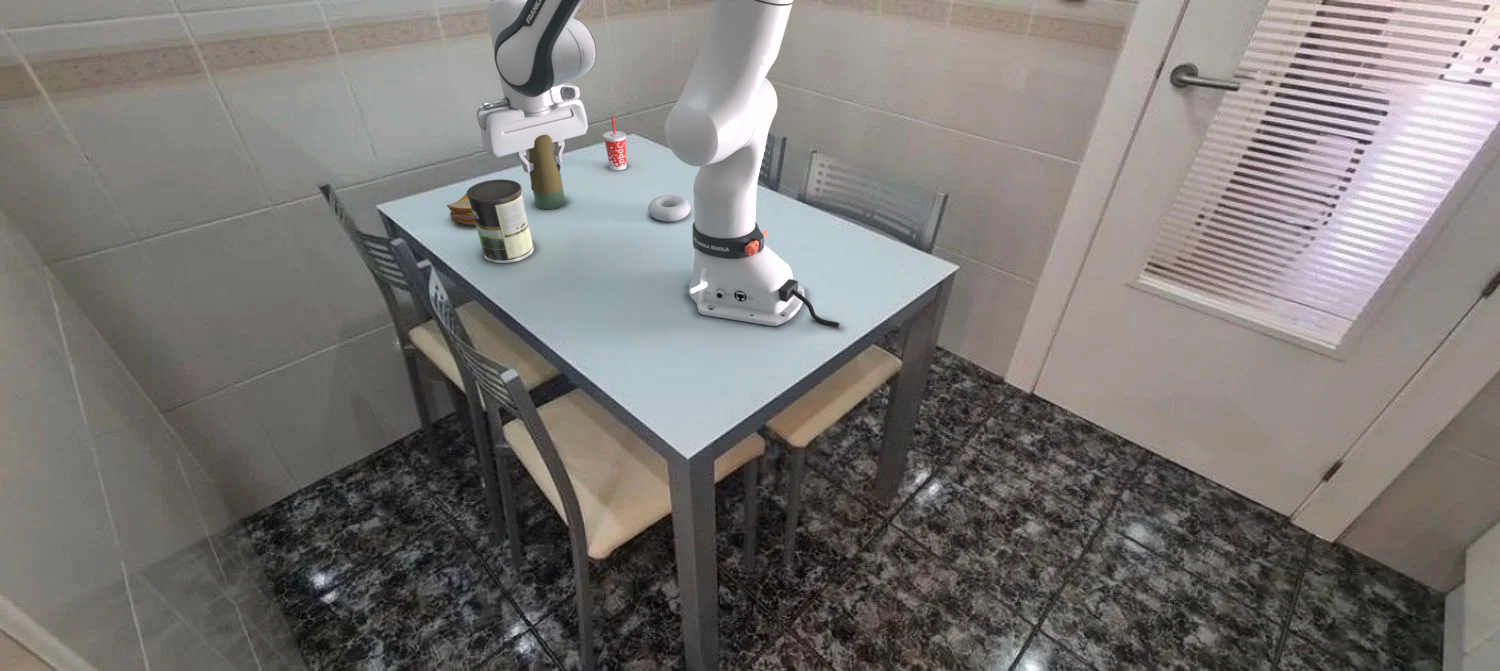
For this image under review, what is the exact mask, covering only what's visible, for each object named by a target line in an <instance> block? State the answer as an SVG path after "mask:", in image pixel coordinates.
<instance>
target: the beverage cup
mask: <svg viewBox="0 0 1500 671" xmlns="http://www.w3.org/2000/svg"><path fill="white" fill-rule="evenodd" d="M611 123H612V130H611V131H605V133H603V134H602V137H603V140H604V145H605V149H606V155H607V161H608V165H609V169H610V170H612V171H623V170H625V169H627V144H626V139H627V133H626V132H624V131H622V130H621V131H620V130H616V128H615V118H614V115H611Z"/></svg>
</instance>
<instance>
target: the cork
mask: <svg viewBox="0 0 1500 671" xmlns="http://www.w3.org/2000/svg"><path fill="white" fill-rule="evenodd" d="M552 148H553V142H552V139H551V137H550V136H548V135H541V136H539V137H537V138H536V139H535V142H534V148H531V149H527V150H528V156H529V157H528V158H529V159H528V160H529V161H531V162H533V163H534V168H535V170H534V171H532V172H530V174H531V179H530V188H531V191H532V192H533V191H534V192H536V193H552V192H556V191H559V190H560V189H562V187H563V188H564V185H563V180H562V181H561V179H562V177H561V178H560V175H559V172H558V169H557V165H556V162H555V159H554V156H553V150H552ZM530 174H529V175H530Z"/></svg>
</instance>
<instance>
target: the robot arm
mask: <svg viewBox="0 0 1500 671" xmlns="http://www.w3.org/2000/svg"><path fill="white" fill-rule="evenodd" d="M585 1H586V0H489V1H488V7H487V18H488V19H487V20H488V28H489V34H490V39H491V43H492V47H493V53H494V63H495V67H496V69H497V73H498V75H499V79H500V84H501V89H502V93H503V98H500V99H499V98H498V99H496V100H492V101H485V102H483V103H481V105H480V107H478V109H477V111H476V118H477V122H478V125H479V128H480V135H481V141H482V146H483V149H484V151H485V153H487V154H489V155H490V156H492V157H495V158H501V157H505V156H509V155H512V154H513V155H514V156H515V157H516V159H518V161H519V162H521V165H522V169H523V171H524V172H525V173H526V174H528V173H529V172H532V171H534V170H535V168H534V163H533V162H531V161H530V159H528V160H527V158H526V157H525V156H527V150H528V149H531V148H534V142H535V139H536V138H537V137H539V136H541V135H548V136H550V137H551V139H552V142H553V144H554V149H553V151H552V153H553V156H554V159H555V162H556V164H562V163H563V157H562V155H563V152H564V149H565V146H566V143H565V140H568V139H572V138H576V137H580V136H584V135H586V134H587V131H588V128H589V125H588V119H587V118H588V117H587V113H586V109H585V106H584V103H583V102H582V100H581V99H580V96H581V91H580V88H579V87H578V86H577V85H575V84H573V83H571V81H573V80H576V79H578V78H580V77H583V76H584V75H586V74H587V73H590V71H591V70H592V69H593V68H594V67H595V64H596V60H597V44H596V42H595V38H594V37H593V34H592V32H591V31H590V29H589V28H588V26H587V25H585V23H584V22H583V21H581V20H580V19H578V18H576V17H575V15H576V14H577V12H578V11H579V9H580V7H581V6H582V5H583V4H584V3H585ZM793 3H794V0H713V1H712V6H711V10H710V14H709V20H708V24H707V25H708V26H707V29H706V31H705V36H704V39H703V41H702V43H701V47H700V49H699V52H698V54H697V57H696V59H695V61H694V64H693V66H692V69H691V71H690V73H689V76H688V78H687V80H686V83H685V85H684V88H683V90H682V91H681V94H680V96H679V98H678V99H677V101H676V103H675V104H674V106H673V107H672V108H671V110H670V111H669V113H667V116H666V118H665V123H664V136H665V139H666V142H667V144H668V147H669V149H670V151H671V152H672V154H673V155H674V156H675V157H676V158H677V159H678V160H680V161H681V162H682V163H683V164H686V165H688V166H691V167H699V169H698V172H697V174H696V176H695V178H694V182H693V186H692V189H693V190H692V191H693V214H694V215H693V216H694V217H693V218H694V221H693V223H692V246H693V249H694V260H693V269H692V274H691V275H692V276H691V279H690V284H689V286H688V295H689V297H690V299H691V300H693V302H694V303H695V304H696V306H697V312H698V313H699V314H700V315H703V316H708V317H714V318H721V319H726V320H732V321H738V322H746V323H751V324H758V325H764V326H770V327H771V326H772V327H777V326H779V325H780V326H781V325H783V324H785V323H787V322H788V321H789V320H791V319H792V318H794V316H796V314H797V313H798V312H799V311H800V309H801V308H802V306H803V305H805V306H806V307H807V309H808V311H809V315H810V316H811V318H812V319H813V320H814V321H816V322H817V323H818V324H821V325H824V326H829V327H835V328H839V327H840V324H841V323H840V322H837V321H832V320H828V319H824V318H822V317H820V316H818V315H817V314H816V312H815V309H814V306H813V305H812V303H811V301H809V299H808V298H806V297H805V289H804V287H803V286H802V285H799V281H798V280H795V279H794V276H793V270H792V269H791V266H790V265H789V264H788V263H787V262H785V261H784V259H783V258H781V257H780V256H779V255H778V254H776V253H775V252H774V251H773V250H772V249H771V248H770V247H769V246H767V244H766V243H765V239H766V237H768V235H769V233H768V231H769V228H766V229H765V230H764V231H763V232H762V231H761V229H760V228H759V225H758V222H757V221H756V218H757V217H756V216H757V192H758V183H759V176H760V170H761V167H762V162H763V158H764V154H765V149H766V144H767V140H768V134H769V131H770V127H771V125H772V122H773V120H774V118H775V115H776V113H777V111H778V110H777V109H778V96H777V93H776V92H777V91H776V90H775V88H774V85H773V84H772V83H771V81H770V80H769V79H768V78H767V75H768V73H769V71H770V70H771V67H772V66H773V65H774V63H775V61H776V60H777V58H778V55H779V52H780V49H781V46H782V42H783V38H784V35H785V31H786V28H787V25H788V21H789V18H790V14H791V10H792V7H793ZM553 144H552V145H553Z"/></svg>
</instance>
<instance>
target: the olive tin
mask: <svg viewBox="0 0 1500 671" xmlns="http://www.w3.org/2000/svg"><path fill="white" fill-rule="evenodd" d="M560 164H561V163H560ZM560 164H556V165H557V169H558V172H559V175H560V178H561V181H562V182H563V179H562V173H561V165H560ZM529 178H530V180H531V174H530V172H529ZM532 194H533V197H534V198H533V199H534V202H535V206H536V208H538V209H540V210H557V209H559V208H562V207H563V206H565V204H566V196H565V192H564V186H563V187H562V189H560V190H559V191H556V192H552V193H536V192H534V191H532Z"/></svg>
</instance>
